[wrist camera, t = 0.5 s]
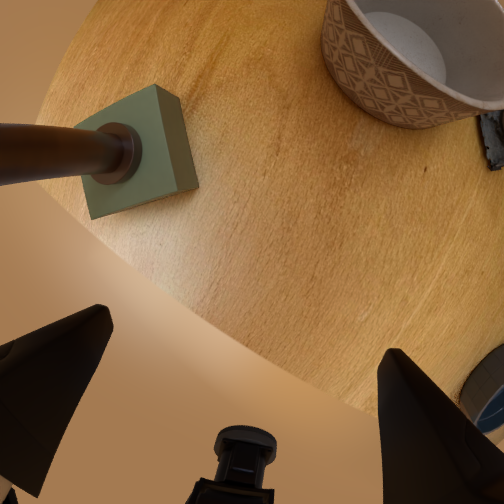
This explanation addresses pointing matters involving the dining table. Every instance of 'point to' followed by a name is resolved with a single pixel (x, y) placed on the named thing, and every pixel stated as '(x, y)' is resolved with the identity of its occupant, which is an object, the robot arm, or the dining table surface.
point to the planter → (417, 58)
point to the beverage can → (494, 137)
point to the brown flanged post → (68, 153)
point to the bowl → (485, 393)
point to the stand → (145, 152)
